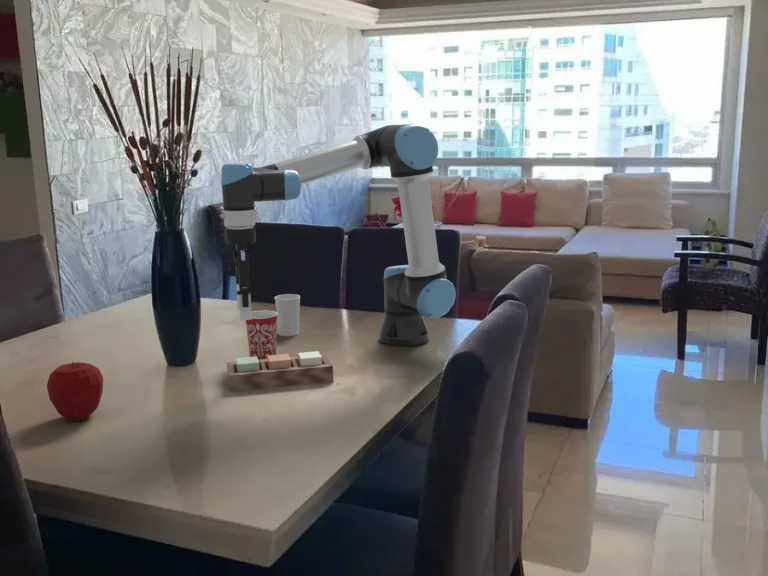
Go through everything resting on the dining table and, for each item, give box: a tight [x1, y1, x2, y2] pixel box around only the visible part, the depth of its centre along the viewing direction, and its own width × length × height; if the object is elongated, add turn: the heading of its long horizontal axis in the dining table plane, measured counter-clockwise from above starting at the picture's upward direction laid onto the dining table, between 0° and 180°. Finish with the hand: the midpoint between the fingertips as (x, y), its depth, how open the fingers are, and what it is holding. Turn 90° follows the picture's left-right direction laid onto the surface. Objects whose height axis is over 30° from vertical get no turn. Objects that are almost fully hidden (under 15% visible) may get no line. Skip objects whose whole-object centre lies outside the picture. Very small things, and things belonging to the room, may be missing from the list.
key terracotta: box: [267, 353, 291, 369], centre depth 192 cm, size 5×5×4 cm
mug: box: [245, 310, 278, 360], centre depth 210 cm, size 13×9×14 cm
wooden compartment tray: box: [226, 353, 334, 393], centre depth 192 cm, size 26×11×4 cm, turn 104°
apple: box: [46, 361, 104, 422], centre depth 168 cm, size 12×12×13 cm
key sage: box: [235, 356, 259, 372], centre depth 190 cm, size 5×5×4 cm
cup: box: [274, 293, 301, 337], centre depth 236 cm, size 8×8×12 cm
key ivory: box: [297, 350, 322, 367], centre depth 194 cm, size 5×5×4 cm
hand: (244, 314), depth 187 cm, fingers open, 11 cm apart
